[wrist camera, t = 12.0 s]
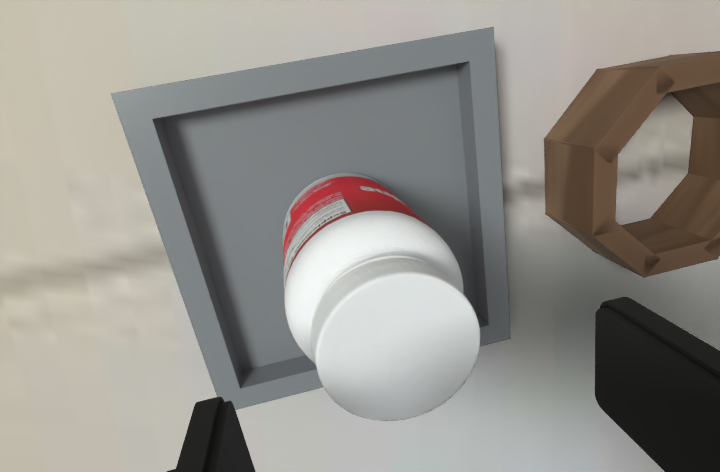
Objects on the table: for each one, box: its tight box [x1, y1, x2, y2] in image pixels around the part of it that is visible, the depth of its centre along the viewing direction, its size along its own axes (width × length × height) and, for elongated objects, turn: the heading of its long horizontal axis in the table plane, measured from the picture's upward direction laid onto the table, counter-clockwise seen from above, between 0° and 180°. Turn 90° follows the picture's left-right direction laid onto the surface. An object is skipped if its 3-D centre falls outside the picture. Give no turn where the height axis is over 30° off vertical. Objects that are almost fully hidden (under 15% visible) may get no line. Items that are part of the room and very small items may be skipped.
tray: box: [111, 27, 511, 410], centre depth 22 cm, size 16×16×2 cm
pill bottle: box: [283, 173, 480, 421], centre depth 17 cm, size 6×6×11 cm
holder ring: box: [544, 51, 720, 277], centre depth 23 cm, size 10×10×4 cm
